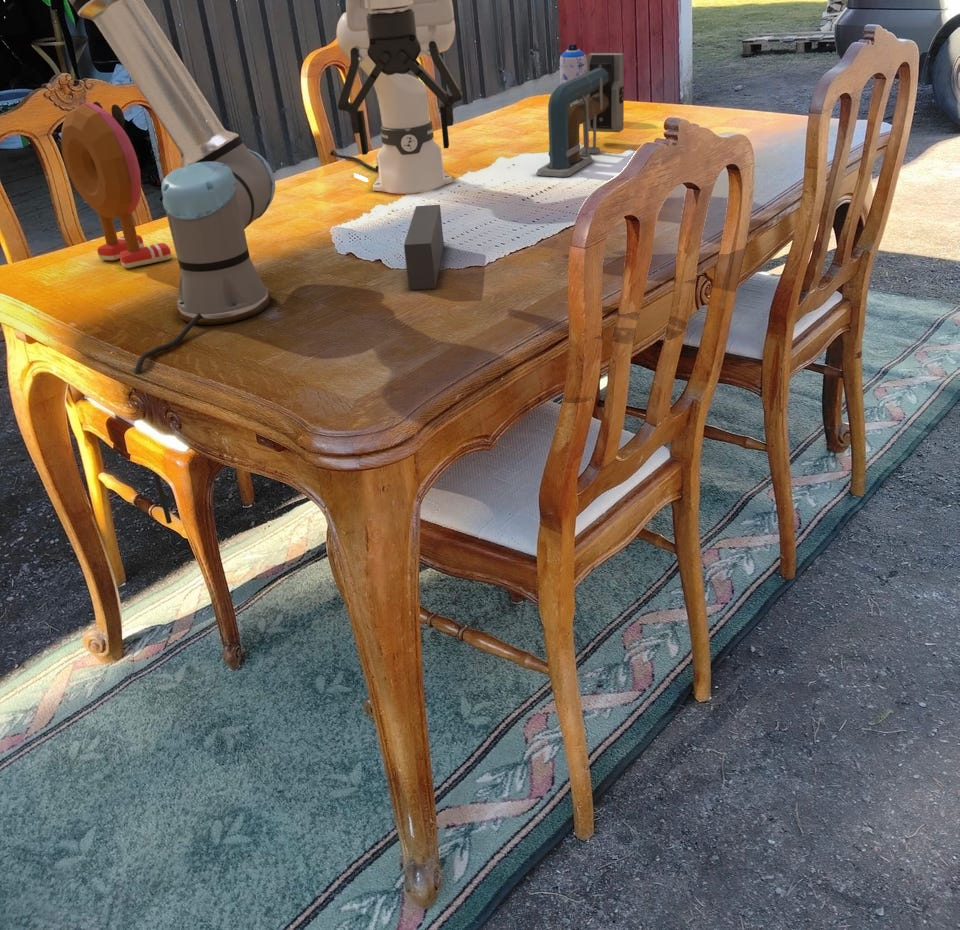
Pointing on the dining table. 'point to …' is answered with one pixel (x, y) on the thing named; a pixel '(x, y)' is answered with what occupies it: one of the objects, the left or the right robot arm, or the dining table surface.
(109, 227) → the toy
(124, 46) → the left robot arm
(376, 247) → the dining table surface
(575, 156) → the clamp
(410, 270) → the bar
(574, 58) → the aerosol can
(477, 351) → the dining table surface
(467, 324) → the dining table surface
